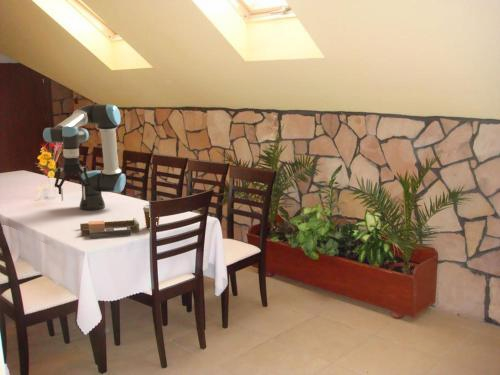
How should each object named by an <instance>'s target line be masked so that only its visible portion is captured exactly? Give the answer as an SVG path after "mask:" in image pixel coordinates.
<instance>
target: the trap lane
mask: <svg viewBox="0 0 500 375" xmlns="http://www.w3.org/2000/svg"><path fill="white" fill-rule="evenodd" d="M104 223H105V231H99V232H92V229H89V222H87V223H79V224H80V226H79V227H80V233H81V237H86V236H88V237H89V239H100V238H101V239H102V238H114V237H125V236H132V233H137V232H140V224H139V221H138V219H137V218H136V217H133V218H132V219H127V220H114V221H104ZM120 227H121V228H122V227H126V229H115V228H120Z"/></svg>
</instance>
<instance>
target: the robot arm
mask: <svg viewBox="0 0 500 375" xmlns="http://www.w3.org/2000/svg"><path fill="white" fill-rule="evenodd" d="M121 119H122V118H121V112H120V110H119V108H118V107H117V106H116V105H115V104H86V105H83V106H82V107H79V108H77V109H75V110H74V111H73V112H72V114H71V115H70V116H69V117H66V119H64V120H63V121H61V122H60V123H58V124H57V125H56V126H54V127H45V128H44V129H43V132H42V137H43V138H42V139H43V140H44V141H45V142H46V143H58V144H59V143H62V152H63V153H62V154H63V167H57V175H56V179H55V182H54V187H55V188H58V194H59V195H60V196H61V197H60V198H61V201H62V202H63V201H64V193H63V190H64V189H63V184H64V183H65V181H66V179H67V177H68V176H77V178H78V179H79V180H80V182H81V199H80V203H79V209H80V210H83V211H99V210H102V209H105V208H106V203H105V200H104V198H103V195H102V193H122V191H124V189H125V187H126V186H125V185H126V180H127V179H126V174H125V173H122V171H123V170H122V169H121V168H120V167H119V158H118V157H119V156H118V144H117V134H116V132H117V131H116V130H117V129H118V127H119V125H120V124H121ZM85 125H97V129H98V130H99V131H100V138H101V148H102V150H101V151H102V160H103V170H102V171H101V170H98V169H97V170H95V169H94V170H88V171H87V167H86V166H80V157H79V156H80V148H79V147H80V146H79V145H80V144H84V143H85V142H87V141H88V140H89V138H90V134H89V131H88V130H87V129H86V128H84V126H85ZM63 171H64V172H65V173H64V175H63V177H62V179H61V180H60V176H61V173H62V172H63ZM80 171H82V173H81V174H80ZM59 180H60V182H59Z"/></svg>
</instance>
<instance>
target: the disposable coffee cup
mask: <svg viewBox="0 0 500 375" xmlns="http://www.w3.org/2000/svg"><path fill="white" fill-rule="evenodd" d="M149 205H150V204H145V205H144V206H143V208H142V210H143V213H144V220H145V226H146V229H148V230H150V229H149V228H150V217H149ZM156 222H157V225H158V226H159V223H160V216H159V217H158V218H156Z"/></svg>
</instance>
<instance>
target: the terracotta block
mask: <svg viewBox="0 0 500 375" xmlns="http://www.w3.org/2000/svg"><path fill="white" fill-rule="evenodd" d="M104 222H105V220H95V221H94V220H93V221H92V220H91V221H88V223H89V229H92V232H99V231H106V230H105V223H104Z"/></svg>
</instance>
